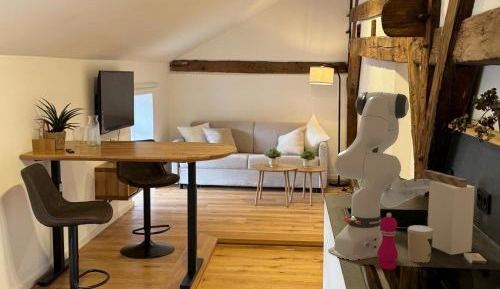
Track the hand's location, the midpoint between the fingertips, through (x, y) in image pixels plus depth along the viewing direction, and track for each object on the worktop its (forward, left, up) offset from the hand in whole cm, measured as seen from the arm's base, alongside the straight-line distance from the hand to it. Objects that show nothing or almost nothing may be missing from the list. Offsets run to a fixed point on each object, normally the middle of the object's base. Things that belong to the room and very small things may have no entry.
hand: (423, 179), depth 233 cm
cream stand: (-4, -16, -25) cm, 30 cm away
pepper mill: (-41, -16, -25) cm, 50 cm away
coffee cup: (-25, -18, -25) cm, 40 cm away
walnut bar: (-3, -12, +1) cm, 12 cm away
